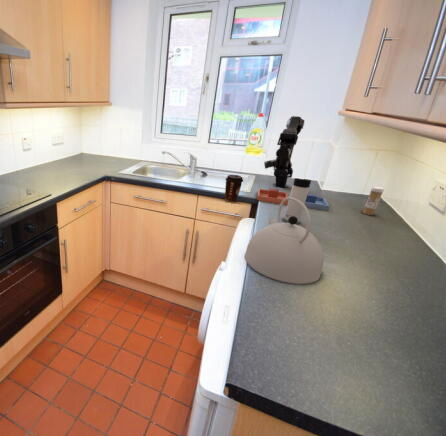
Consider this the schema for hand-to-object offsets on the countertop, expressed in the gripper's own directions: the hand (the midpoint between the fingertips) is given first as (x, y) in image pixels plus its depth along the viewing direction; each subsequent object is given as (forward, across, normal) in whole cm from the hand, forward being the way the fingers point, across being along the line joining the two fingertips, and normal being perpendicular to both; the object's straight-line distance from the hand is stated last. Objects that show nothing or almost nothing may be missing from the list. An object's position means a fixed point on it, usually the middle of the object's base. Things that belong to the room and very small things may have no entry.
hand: (276, 184), depth 162 cm
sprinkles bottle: (+8, +4, +42) cm, 43 cm away
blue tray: (+7, +2, +17) cm, 19 cm away
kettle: (+7, +77, +1) cm, 77 cm away
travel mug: (+7, +34, +7) cm, 36 cm away
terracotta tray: (+7, +3, -1) cm, 8 cm away
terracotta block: (+7, +3, -1) cm, 8 cm away
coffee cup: (+7, +17, -21) cm, 28 cm away
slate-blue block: (+7, +2, +17) cm, 18 cm away
